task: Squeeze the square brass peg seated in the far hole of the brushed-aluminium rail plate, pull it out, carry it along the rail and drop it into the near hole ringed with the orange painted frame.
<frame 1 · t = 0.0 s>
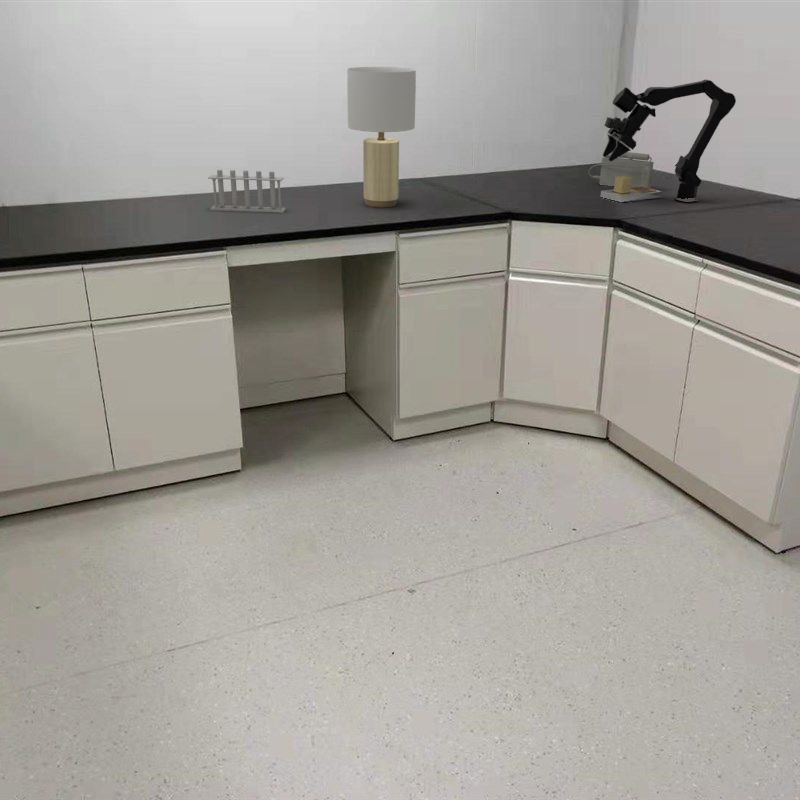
hand: (606, 158, 299), 15 cm above the worktop, tool tilted 35°, fingers open, 9 cm apart
test tube rack: (248, 210, 283), on the worktop
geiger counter: (617, 187, 327), on the worktop
lamp: (380, 204, 294), on the worktop
brass peg: (620, 199, 307), resting in rail plate
rail plate: (630, 197, 309), on the worktop
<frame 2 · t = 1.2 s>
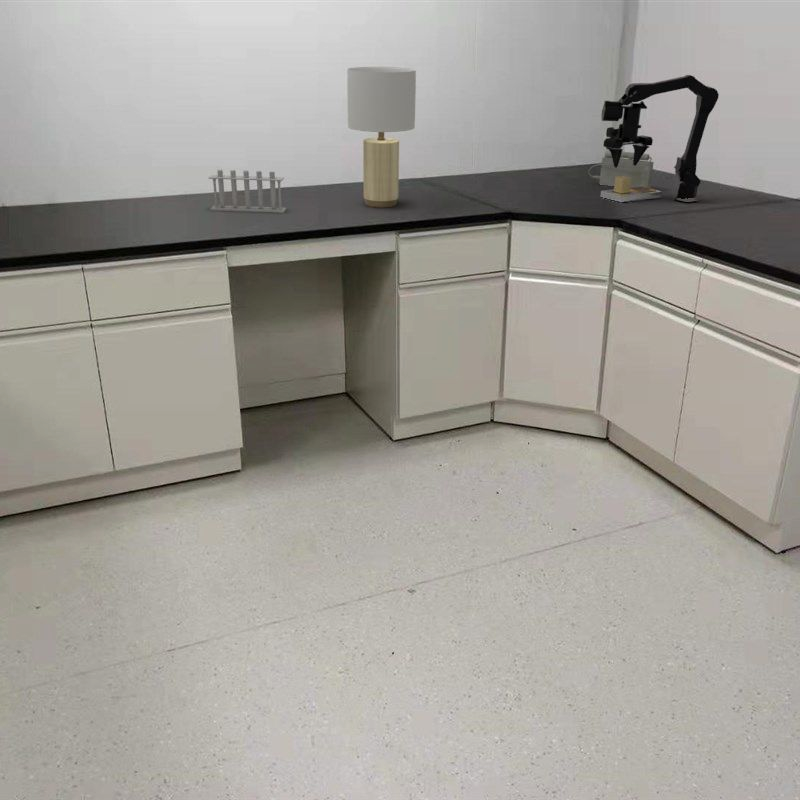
hand: (625, 166, 302), 12 cm above the worktop, tool pointing down, fingers open, 9 cm apart
nothing on the worktop moved.
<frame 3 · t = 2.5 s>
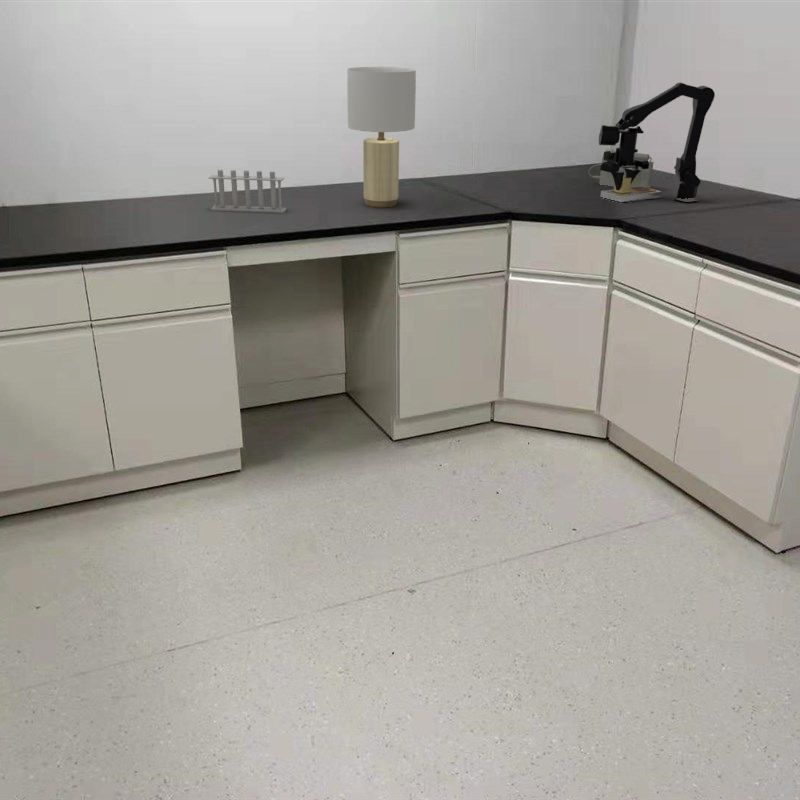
hand: (621, 189, 305), 4 cm above the worktop, tool pointing down, fingers closed on brass peg, 4 cm apart
brass peg: (620, 199, 307), resting in rail plate, touching gripper
everything else where it was.
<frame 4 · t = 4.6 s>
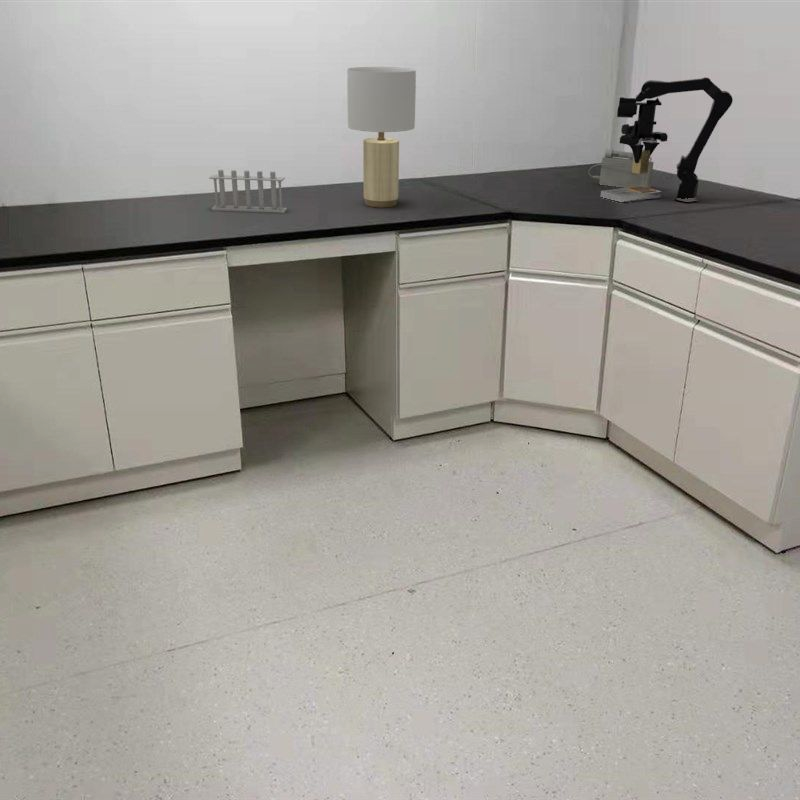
hand: (640, 162, 305), 13 cm above the worktop, tool pointing down, fingers closed on brass peg, 4 cm apart
brass peg: (639, 172, 306), point 9 cm above the worktop, touching gripper
everything else where it was.
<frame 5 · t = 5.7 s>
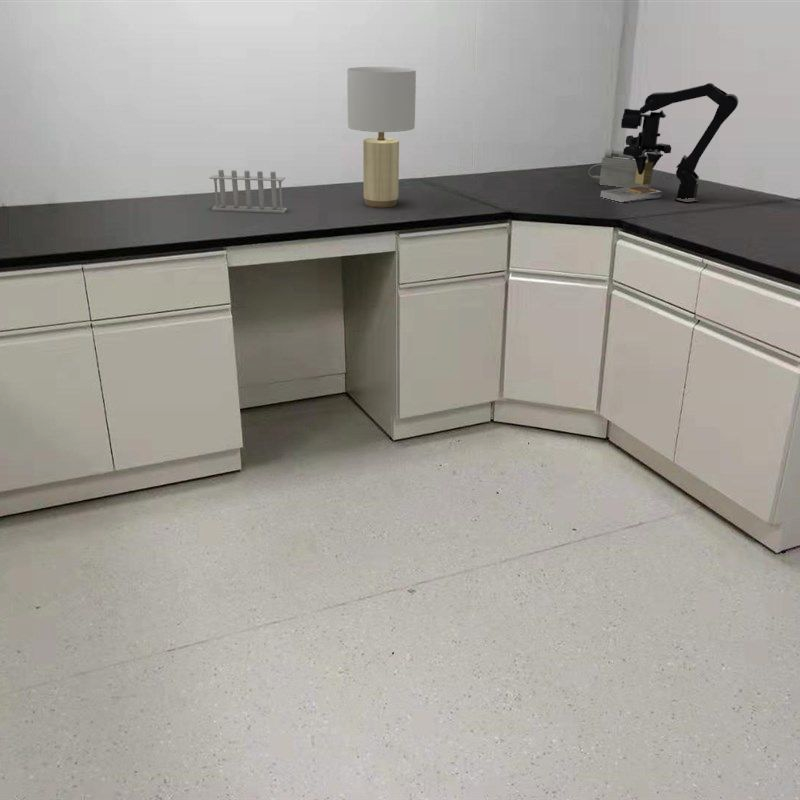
hand: (644, 173, 308), 8 cm above the worktop, tool pointing down, fingers closed on brass peg, 4 cm apart
brass peg: (642, 183, 309), point 5 cm above the worktop, touching gripper
everything else where it was.
when the fingers open (4 cm above the worktop, at t = 6.8 s): brass peg stays where it is, resting in rail plate.
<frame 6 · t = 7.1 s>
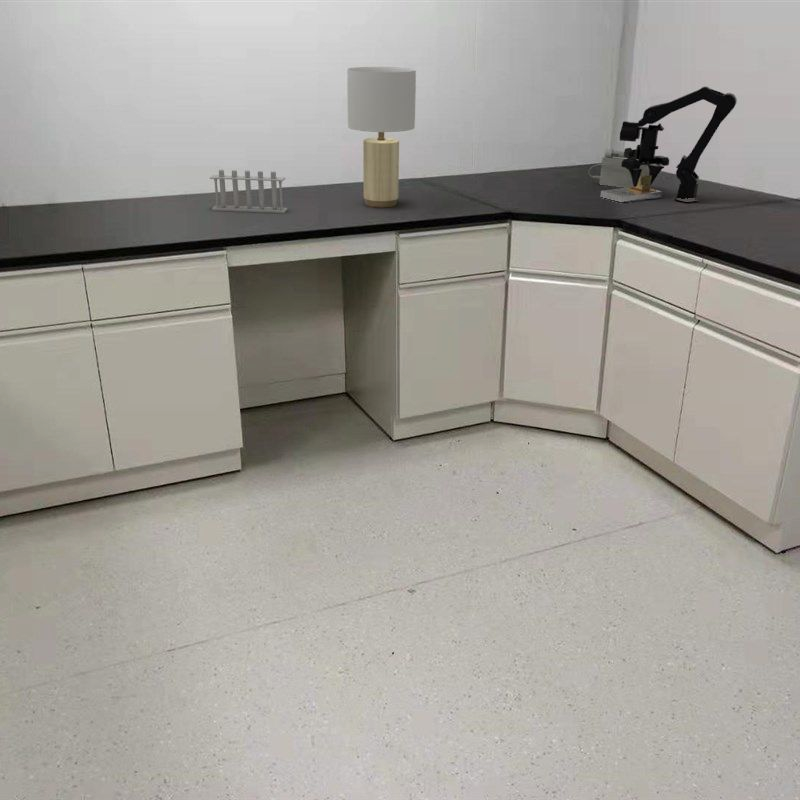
hand: (642, 185, 310), 4 cm above the worktop, tool pointing down, fingers open, 7 cm apart
brass peg: (640, 196, 312), resting in rail plate
everything else where it was.
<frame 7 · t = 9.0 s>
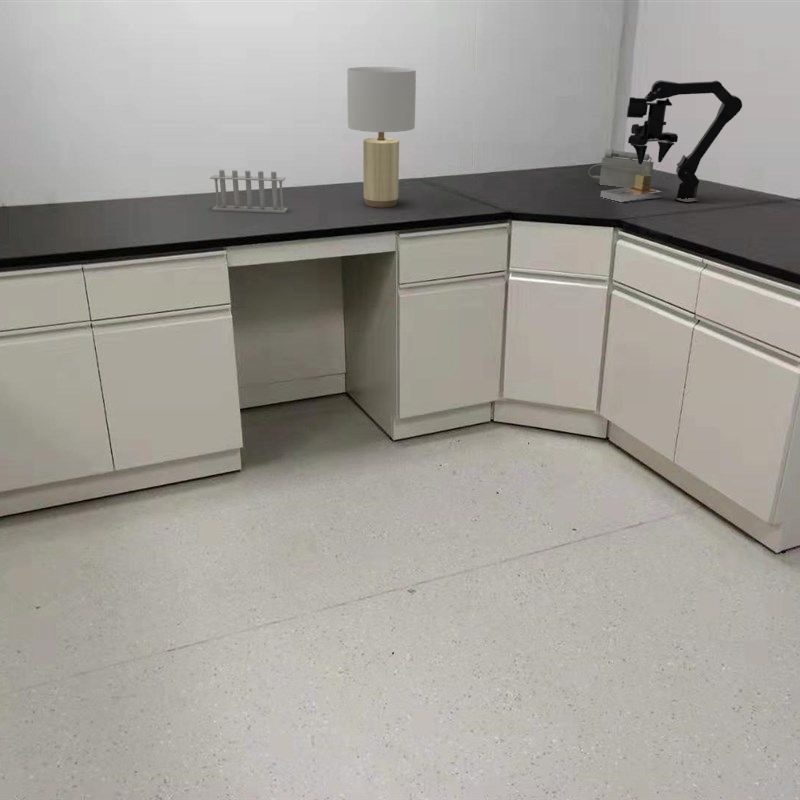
hand: (649, 163, 303), 13 cm above the worktop, tool pointing down, fingers open, 9 cm apart
nothing on the worktop moved.
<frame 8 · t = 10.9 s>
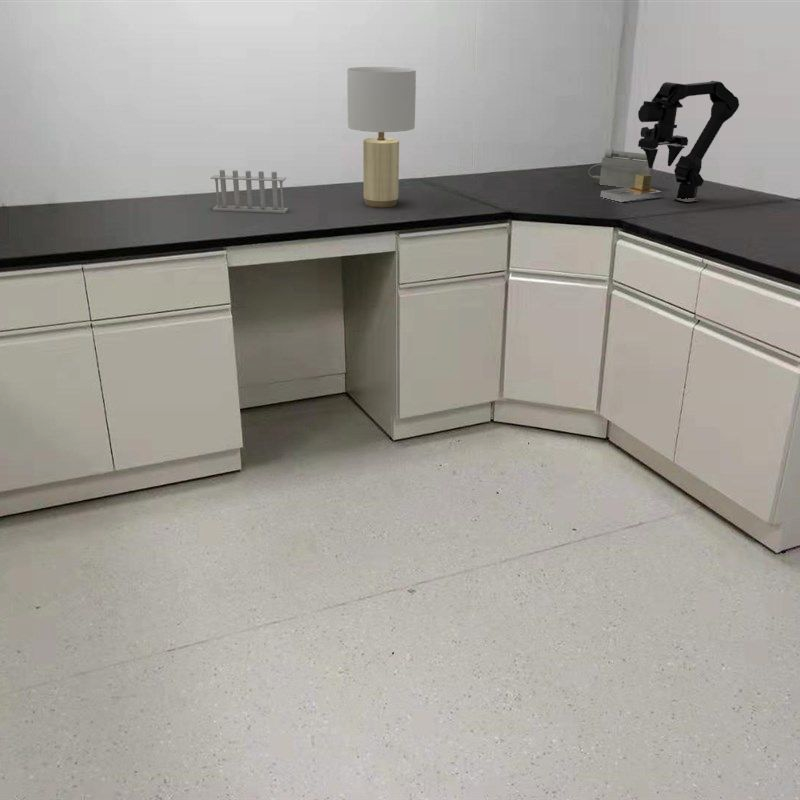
hand: (659, 167, 295), 13 cm above the worktop, tool pointing down, fingers open, 9 cm apart
nothing on the worktop moved.
at the end: brass peg 0.1 cm from the target spot on the rail plate, point 0.0 cm above the rail plate's base; brass peg tilted 0°; the gripper is holding nothing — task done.
